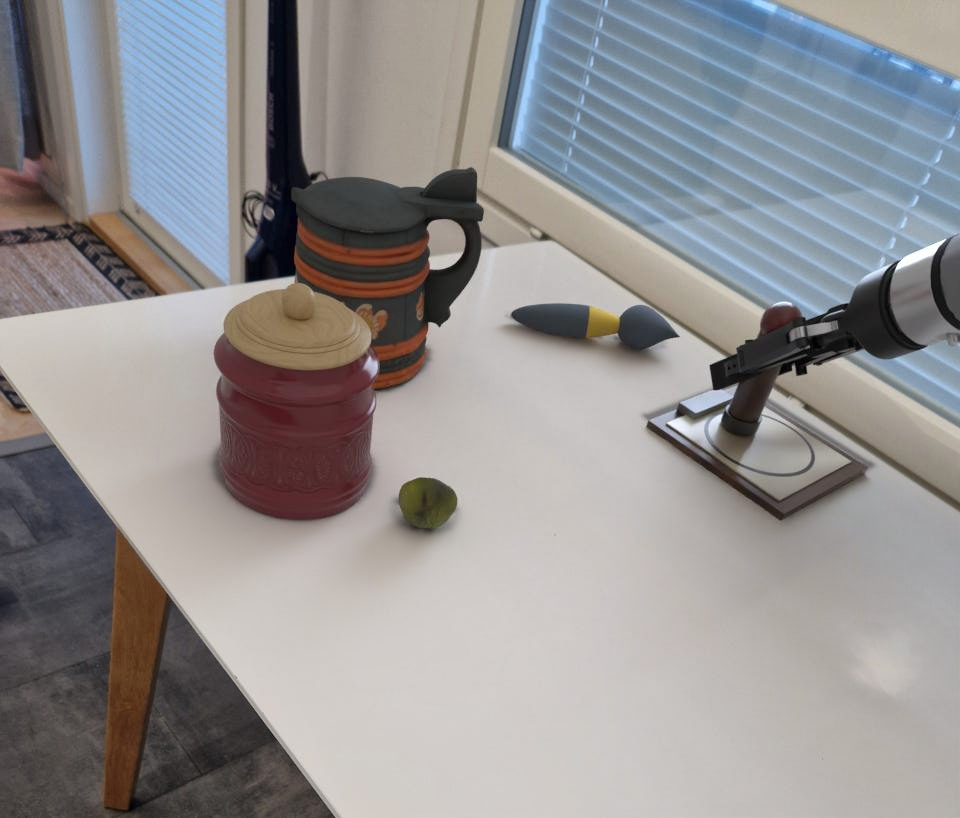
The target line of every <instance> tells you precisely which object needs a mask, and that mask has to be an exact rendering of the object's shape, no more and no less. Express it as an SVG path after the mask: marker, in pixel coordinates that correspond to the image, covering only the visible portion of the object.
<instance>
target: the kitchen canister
mask: <svg viewBox="0 0 960 818" xmlns="http://www.w3.org/2000/svg"><path fill="white" fill-rule="evenodd" d="M370 344H371V331H370V329H369V326H368V325H367V323H366V322H365V321H364V320H363V319H362V318H361V317H360V316H359V315H358V314H356V313H355V312H354V311H352V310H350V309H349V308H347V307H346V306H345V305H344V304H342V303H341V302H339V301H338V300H336V299H334V298H332V297H329V296H327V295H324V294H321V293H317V292H313V290H312V289H311V288H310V287H309V286H307V285H305V284H302V283H291V284H289V285H288V286H287V287H286V288H280V289H279V288H278V289H272V290H267V291H263V292H260V293H257V294H256V295H253V296H252V297H250V298H248V299H246V300H244V301H242V302H241V301H240V302H239V303H238V304H236V305H235V306H233V307H232V308H231V309H230V310H229V311H228V312H227V313H226V315H225V317H224V320H223V333H222V334H221V335H220V336H219V338H218V339H217V340H216V343H215V344H214V348H213V359H214V363H215V365H216V368H217V369H218V371H219V372H220V374H221V375H220V376H219V377H218V379H217V382H216V388H215V395H216V399H217V403H218V411H219V412H218V414H219V430H220V431H219V432H220V433H219V434H220V445H219V452H218V455H219V466H220V470H221V474H222V475H223V479H224V483H225V485H226V487H227V489H228V490H229V492H230V493H231V494H232V495H233V496H234V497H235V499H236V500H238V501H239V502H241V503H242V504H244V505H245V506H246V507H249V508H250V509H252V510H254V511H257V512H260V513H262V514H265V515H269V516H272V517H276V518H281V519H289V520H290V519H291V520H311V519H319V518H320V519H321V518H325V517H328V516H333V515H335V514H338V513H341V512H343V511H345V510H347V509H349V508H350V507H351V506H352V505H354V504H355V503H356V502H358V500H359V499H360V498H361V496H362V495H363V494H364V493H365V490H366V487H367V483H368V481H369V479H370V476H371V471H372V468H371V467H372V454H371V448H372V447H371V446H372V435H373V424H374V423H373V422H374V413H375V411H376V408H377V395H376V391H375V389H373V387H372V384H373V383H374V381H375V380H376V378H377V376H378V374H379V369H380V362H379V358H378V355H377V353H376V351H375V350H374V348H373V347H372V346H371V345H370Z"/></svg>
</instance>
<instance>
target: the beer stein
mask: <svg viewBox="0 0 960 818" xmlns="http://www.w3.org/2000/svg"><path fill="white" fill-rule="evenodd" d="M477 193H478V172H477V170H476V169H475V168H474V167H472V166H470V167H468V168H459V169H458V168H455V169H450V170H446V171H443V172H442V173H440V174H438V175H436V176H435V177H433V178H432V179H431V180H430V181H429V182H428V183H427V185H426V186H425V187H421V186H402V187H400V186H397V185H396V184H393V183H389V182H387V181H382V180H378V179H374V178H370V177H364V176H343V177H335V178H328V179H324V180H319V181H317V182H314V183H312V184H309V185H308V186H306V187H305V188H304V189H303V188H299V187H296V186H294V187H292V188H291V190H290V196H291V197H290V198H291V201H292V202H294V203H295V204H296V206H295V213H296V215H297V216H298V217H297V231H296V239H295V246H294V254H293V255H294V256H293V260H294V265H295V274H294V283H302V284H305V285H307V286H309V287H310V288H311V289H312V290H313V292H317V293H321V294H324V295H327V296H329V297H332V298H334V299H336V300H338V301H339V302H341V303H342V304H344V305H345V306H346V307H347V308H349V309H350V310H352V311H354V312H355V313H356V314H358V315H359V316H360V317H361V318H362V319H363V320H364V321H365V322H366V323H367V325H368V326H369V329H370V331H371V344H370V345H371V346H372V347H373V348H374V350H375V351H376V353H377V355H378V358H379V362H380V369H379V374H378V376H377V378H376V380H375V381H374V383H373V384H372V387H373V389H374V390H377V389H386V388H390V387H393V386H397V385H402V384H403V383H405V382H408V381H409V380H411V379H412V378H414V377H415V376H416V375H417V374H418V373H419V372H420V370H421V368H422V366H423V364H424V362H425V360H426V357H427V356H426V355H427V354H426V353H427V352H426V351H427V350H426V349H427V348H426V344H427V335H428V332H429V324H430V323H433V324H435V325H436V326H437V327H438V328H439V329H441V327H442V325H443V324H444V323H446V322H447V321H448V320H450V317H451V315H452V313H451V309H450V307H451V306H452V305H453V304H454V302H455V301H456V300H457V299H458V298H459V296H460V295H461V294H462V293H463V291H464V290H465V289H466V287H467V286H468V284H470V282H471V279H472V278H473V276H474V274H475V272H476V270H477V269H478V265H479V262H480V259H481V254H482V248H483V247H482V245H483V244H482V243H483V241H482V239H483V238H482V232H481V226H480V223H482V222H483V221H484V214H485V213H484V212H485V209H484V207H483V206H482V205H481V204H480V203H478V195H477ZM440 220H449V221H452V222H455V223H456V224H457V225H459V227H460V228H461V230H462V232H463V234H464V239H465V240H464V241H465V242H464V248H463V252H462V254H461V256H460V257H459V259H458V260H457V261H456V262H454V264H452V265H450V266H447V267H445V268H441V269H440V268H439V269H434V268H433V269H431V263H430V260H429V259H430V256H431V250H430V246H429V245H428V244H429V241H430V238H431V237H430V236H431V235H430V233H429V230H428V226H429V225H430V224H431V223H432V222H434V221H440ZM294 283H293V284H294Z"/></svg>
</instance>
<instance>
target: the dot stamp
mask: <svg viewBox="0 0 960 818" xmlns="http://www.w3.org/2000/svg"><path fill="white" fill-rule="evenodd" d="M797 317H803V314H802V311H801V309H800V308H799V306H797V305H796V304H794V303H792V302H790V301H777V302H775V303H772V304H771V305H770V306H768V307H767V308H766V309H765V311H764V312H763V313H762V315H761V318H760V321H759V331H758V333H757V335H756V338H755V339H757V338H759V337H761V336H763V335H765V334H768V333H770V332H772V331H774V330H776V329H779V328H781V327H783V326H785V325H786V324H788V323H789V322H790V321H792V320H794V319H795V318H797ZM782 365H783V364H781V365H778V366H775V367H772V368H769V369H766V370H763V371H761V374H760V375H758V376H755V377H752V378H750V379H747V380H744V381H742V382H739V383H737V385H738V386H737V388H736V391H735V393H734V396H733V398H732V401H731V403H730V404H729V405H727V406H726V408H725V411H724V413H723V416H722V418H721V423H722V425H723V426H724V427H725V428H726V429H727V430H729V431H730V432H732V433H735V434H738V435H743V436H751V435H754V434H755V433H756V432H757V430H758V428H759V426H760V423H761V421H762V416H761V414H762V411H763V409H764V407H765V405H766V403H767V402H768V400H769V397H770V395H771V394H772V391H773V388H774V386H775V383H776V382H777V379H778V377H779V376H778V374H779V372H780V370H781V367H782Z"/></svg>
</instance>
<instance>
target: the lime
mask: <svg viewBox="0 0 960 818" xmlns="http://www.w3.org/2000/svg"><path fill="white" fill-rule="evenodd" d="M458 501H459V499H458V495H457V494H456V492H455V490H454V489H453V488H452V487H451V485H448V484H447V483H445V482H444V481H441V480H440V479H437V478H434V477H423V476H422V477H421V476H420V477H416V478H414V479H412V480H408V481H406V482H405V483H403V484H402V485H401V487H400V489H399V493H398V506H399V508H400V511H401V513H402V515H403V518H404V519H405V520H406V521H407V522H409V524H411V525H412V526H414V527H416V528H419V529H435V528H438V527H440V526H442V525H444V524H445V523H447V521H449V519H451V517H452V515H453V514H454V512H455V511H456V509H457V506H458V503H459V502H458Z"/></svg>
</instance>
